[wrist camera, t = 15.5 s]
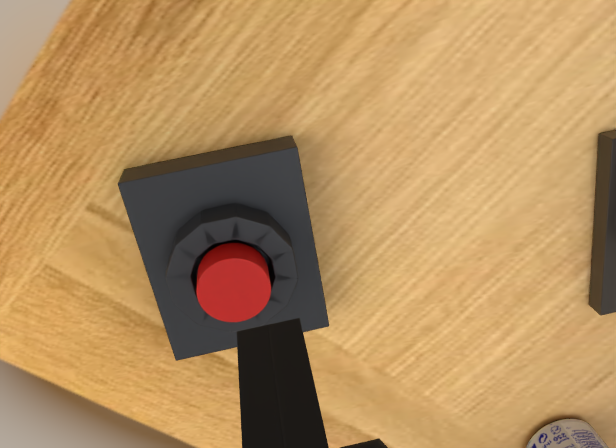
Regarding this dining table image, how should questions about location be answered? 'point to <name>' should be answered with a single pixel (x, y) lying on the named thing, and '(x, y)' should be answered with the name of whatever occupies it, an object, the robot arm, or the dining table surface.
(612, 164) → the bracket
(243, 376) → the robot arm
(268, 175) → the control box
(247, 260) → the button
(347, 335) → the dining table surface
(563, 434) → the beverage can
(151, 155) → the dining table surface
